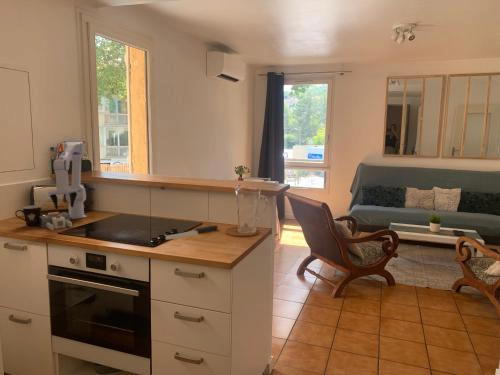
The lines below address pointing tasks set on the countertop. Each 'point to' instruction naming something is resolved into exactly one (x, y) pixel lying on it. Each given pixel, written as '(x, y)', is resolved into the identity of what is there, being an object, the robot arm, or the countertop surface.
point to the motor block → (48, 218)
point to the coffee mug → (31, 215)
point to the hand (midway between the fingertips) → (64, 207)
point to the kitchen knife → (192, 232)
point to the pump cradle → (53, 226)
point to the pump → (58, 222)
